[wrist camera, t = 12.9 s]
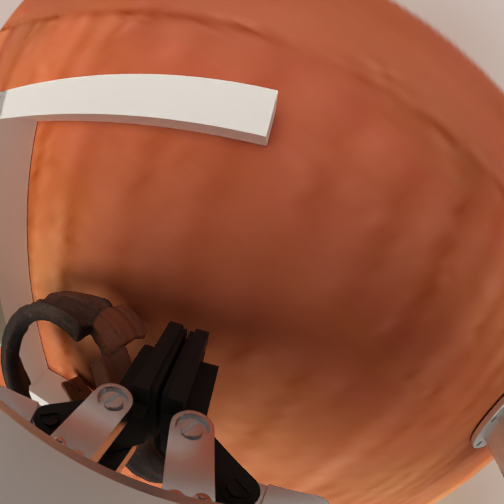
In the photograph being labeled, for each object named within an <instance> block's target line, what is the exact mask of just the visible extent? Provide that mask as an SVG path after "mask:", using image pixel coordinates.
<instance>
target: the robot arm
mask: <svg viewBox="0 0 504 504" xmlns="http://www.w3.org/2000/svg"><path fill="white" fill-rule="evenodd" d="M208 335H209V332H206V331H202V330H199V329H196V330H195V332H193V331H190V333H189V335H188V337H187V339H186V336H187V329H183V325H181V324H178V323H175V322H172V321H171V322H170V323H169V324H168V326H167V327H166V329H165V331H164V332H163V334H162V336H161V337H160V339H159V341H158V342H157V344H156V346H155V347H152V346H149V345H144V346H143V347H142V349H141V351H140V352H139V354H138V355H137V357H136V358H135V360H134V361H133V363H132V364H131V366H130V367H129V369H128V371H127V372H126V374H125V375H124V377H123V378H122V380H121V382H120V383H119V385H118V384H113V383H109V384H104V385H101V386H99V387H98V388H96V389H95V390H94V391H93V392H92V393H91V394H90V395H89V396H88V398H87V399H82V400H76V401H69V402H62V403H55V404H47V405H43V406H42V405H39V403H38V402H37V401H35V400H32V399H30V398H28V397H25V396H23V395H21V394H19V393H17V392H14V391H12V390H10V389H8V388H6V387H4V386H0V504H329V502H328V501H327V500H326V499H325V498H323V497H320V496H317V495H312V494H307V493H302V492H297V491H293V490H289V489H285V488H281V487H277V486H273V485H270V484H269V485H268V486H266V485H263V484H260V483H257V481H256V480H255V479H254V478H253V477H252V476H251V475H250V474H249V473H248V472H247V471H246V470H245V469H244V468H243V467H242V466H241V465H240V464H239V463H238V462H237V461H236V460H235V459H234V458H233V457H232V456H231V455H230V454H229V453H228V451H227V450H226V449H225V448H224V447H223V446H222V445H221V444H220V443H219V441H218V440H217V439H216V438H215V437H214V425H213V423H212V421H211V420H210V419H209V418H208V417H207V412H208V408H209V404H210V400H211V396H212V392H213V388H214V384H215V380H216V376H217V372H218V368H219V366H216V365H212V364H208V363H204V362H203V360H204V355H205V350H206V345H207V340H208ZM159 431H160V438H161V450H162V451H163V453H164V454H165V456H166V458H165V466H164V475H163V484H162V489H161V488H158V487H155V486H152V485H149V484H146V483H143V482H141V481H138V480H135V479H133V478H130V477H128V476H125V475H123V474H120V472H121V471H122V469H123V468H124V467H125V465H126V464H127V462H128V461H129V459H130V458H131V456H132V455H133V453H134V452H135V450H136V448H137V446H138V445H140V444H143V443H145V441H146V440H147V441H149V442H150V441H151V438H152V436H155V437H157V436H158V433H159ZM471 443H472V445H473V447H474V448H481V447H483V446H486V445H488V447H489V449H490V451H491V453H492V455H493V457H494V459H495V461H496V463H497V464H498V467H499V469H500V471H501V473H502V474H503V477H504V396H503V397H502V398H501V399H500V400H499V401H498V403H497V404H496V405H495V406H494V407H493V408H492V409H491V411H490V412H489V413H488V414H487V415H486V416H485V418H484V419H483V420H482V422H481V423H480V424H479V426H478V427H477V428H476V430H475V432H474V433H473V435H472V438H471Z"/></svg>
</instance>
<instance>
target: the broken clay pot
mask: <svg viewBox="0 0 504 504" xmlns="http://www.w3.org/2000/svg"><path fill="white" fill-rule="evenodd" d="M38 320H46V321H50V322H52V323H54V324H56V325H58V326H59V327H61V328H62V329H63V330H65V331H66V332H67V333H68V334H69V335H70V336H71V337H72V338H73V339H74V340H75V341H76V342H78V341H80V340H82V339H83V338H84V337H85V336H87V335H91V336H92V337H93V339H94V341H95V343H96V344H97V345H98V346H99V348H100V351H101V354H102V358H100V359H98V360H97V361H96V362H94V363H93V364H92V365H91V370H92V373H93V377H94V381H95V384H96V388H98V387H99V386H101V385H104V384H109V383H113V384H118V385H119V383H120V382H121V380H122V378H123V377H124V375H125V374H126V372H127V371H128V369H129V367H130V366H131V362H130V359H129V355H128V352H127V349H126V348H125V345H127V344H128V343H130V342H131V341H133V340H134V339H144V338H145V337H146V335H147V333H148V328H147V327H146V325H145V324H144V322H143V321H142V320H141V319H140V317H139V316H138V315H137V314H136V312H135V311H134V310H132V309H130V308H125V307H124V306H122V305H120V306H117V307H113V306H112V304H111V302H110V301H109V300H107V299H105V298H101V297H98V296H94V295H90V294H84V293H78V292H71V291H70V292H68V291H63V292H56V293H51V294H49V295H48V296H47V297H46V298H45V299H43V300H42V299H39V300H37V301H36V302H33V303H31V304H30V305H29V304H27V305H25V306H23V307H20V308H19V309H18V310H17V311H16V312H15V313H14V314H13V315H12V316H11V318H10V319H9V321H8V323H7V325H6V327H5V329H4V333H3V337H2V346H1V366H2V373H3V377H4V380H5V384H6V387H7V388H8V389H10V390H12V391H14V392H17V393H19V394H21V395H23V396H25V397H28V398H30V399H32V398H31V396H30V393H29V386H30V385H31V381H30V379H29V377H28V375H27V372H26V371H25V369H24V366H23V363H22V361H21V358H20V356H19V352H20V347H21V342H22V339H23V337H24V335H25V333H26V332H27V331H28V328H29V326H30V325H31V324H32V323H33V322H35V321H38ZM61 386H62V388H63V390H64V392H65V393H66V394H67V396H68V397H69V400H70V401H76V400H82V399H87V398H88V396H89V395H90V394H91V393H92V391H91V390H90V388H89V387H88V386H87V385H86V384H85V382H84V381H83V379H82V378H81V377H80V376H77V377H75V378H73V379H71V380H69V381H64V382H62V383H61ZM165 458H166V456H165V454H164V453H163V451H162V450H161V438H160V431H159V433H158V436H157V437H155V436H152V438H151V441H150V442H149V441H147V440H146V441H145V443H143V444H140V445H138V446H137V448H136V450H135V452H134V453H133V455H132V456H131V458H130V459H129V461H128V462H127V464H126V465H125V466H126V467H127V468H128V469H129V470H130V471H131V472H132V473H133V474H135V475H137V476H139V477H140V478H143V479H145V480H146V481H149V482H153V483H163V475H164V466H165Z"/></svg>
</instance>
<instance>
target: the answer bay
mask: <svg viewBox="0 0 504 504" xmlns="http://www.w3.org/2000/svg"><path fill="white" fill-rule="evenodd" d="M277 96H278V91H277V90H272V89H268V88H263V87H259V86H254V85H248V84H243V83H237V82H231V81H224V80H217V79H209V78H201V77H191V76H179V75H162V74H111V75H95V76H83V77H74V78H66V79H59V80H53V81H47V82H41V83H36V84H31V85H26V86H22V87H18V88H14V89H10V90H6V91H3V92H0V347H1V346H2V337H3V333H4V329H5V327H6V325H7V323H8V321H9V319H10V318H11V316H12V315H13V314H14V313H15V312H16V311H17V310H18V309H19V308H20V307H23V306H25V305H27V304H29V305H30V304H31V303H33V299H32V292H31V284H30V276H29V265H28V251H27V196H28V182H29V171H30V163H31V155H32V148H33V142H34V137H35V131H36V126H37V121H97V122H115V123H128V124H139V125H149V126H158V127H166V128H173V129H180V130H187V131H193V132H199V133H205V134H211V135H216V136H222V137H227V138H232V139H237V140H241V141H246V142H250V143H255V144H259V145H263V146H267V143H268V139H269V135H270V131H271V128H272V124H273V120H274V116H275V112H276V104H277ZM19 356H20V358H21V361H22V363H23V366H24V369H25V371H26V372H27V375H28V377H29V379H30V381H31V385H30V386H29V393H30V396H31V398H32V400H35V401H37V402H38V403H39V405H42V406H43V405H47V404H55V403H62V402H69V401H70V400H69V397H68V396H67V394H66V393H65V392H64V390H63V388H62V386H61V383H62V382H64V381H69V380H67V379H65V378H63V377H61V376H60V375H58V374H56V373H55V372H53V371H51V370H50V369H48V366H47V362H46V359H45V355H44V352H43V348H42V344H41V340H40V335H39V331H38V326H37V321H35V322H33V323H32V324H31V325H30V326H29V328H28V331H27V332H26V333H25V335H24V337H23V339H22V342H21V347H20V352H19Z"/></svg>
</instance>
